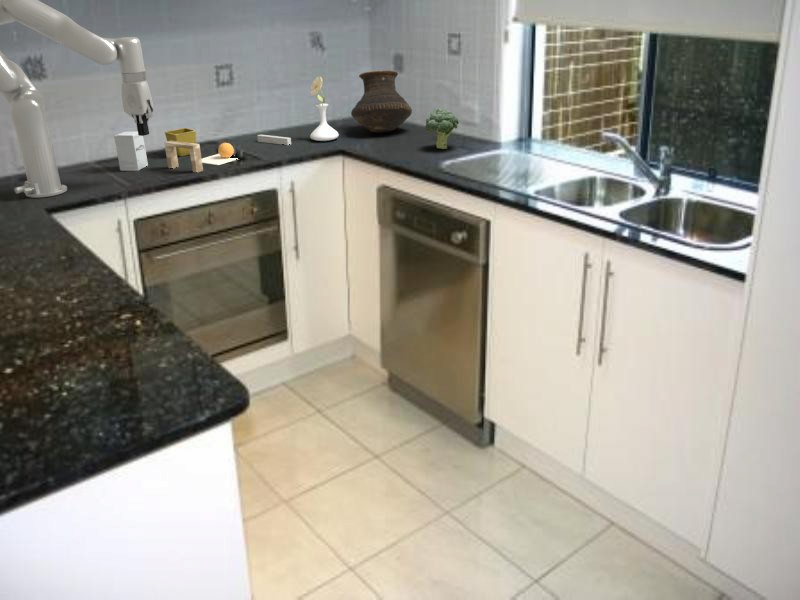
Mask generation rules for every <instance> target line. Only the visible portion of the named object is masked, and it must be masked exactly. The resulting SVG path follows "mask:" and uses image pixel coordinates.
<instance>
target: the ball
mask: <svg viewBox="0 0 800 600" xmlns="http://www.w3.org/2000/svg"><path fill="white" fill-rule="evenodd" d="M234 152H235V149H234V147H233V145H232V144H231V143H229V142H223V143H221V144H220V145H219V146H218V149H217V153H218V154H220V156H221V157H223V158H230V157H231V156H232V155H234Z"/></svg>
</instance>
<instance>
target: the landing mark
mask: <svg viewBox="0 0 800 600" xmlns="http://www.w3.org/2000/svg"><path fill="white" fill-rule="evenodd" d="M201 159H202V164H208V165H215V166H220V165H223V164H226V163H230V162H234V161H237V160H239V159H238V158H223V157H221V156H220V154H219V153H216V154H213V155H209V156H206V157H203V158H202V157H201ZM236 159H237V160H236Z"/></svg>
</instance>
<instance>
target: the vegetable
mask: <svg viewBox="0 0 800 600" xmlns="http://www.w3.org/2000/svg"><path fill="white" fill-rule="evenodd" d="M459 123H460V122H459V119H458V117H457V116H456V115H455V114H453V112H452V111H451V110H449V109H448V110H447V109H446V108H442V107H437V108H435V109H434V110H431V112H430V114H429V116H427V117H426V118H425V128H426V131H428V132H429V133H430V134H431V133H433V132H434V131H435V132H436V138H437V141H436V142H435V144H436V148H437V149H441V150H445V149H446V150H447V149H448V142H447V141H448V137H449V136H450V135H451V133H452V132H453V130H456V129H458V125H459Z"/></svg>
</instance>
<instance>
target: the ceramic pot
mask: <svg viewBox="0 0 800 600" xmlns="http://www.w3.org/2000/svg"><path fill="white" fill-rule="evenodd" d="M398 75H399V73H398V72H397V71H394V70H374V71H373V70H372V71H366V72H362V73H360V74H359V76H358V78H360V79H361V80H362V83H363V92H364V93H363V95H362V96H361V98H360V100H358V101H357V103H356V104H355V106H354V107H352V109H351V112H350V114H351V116H352V118H353V119H355V121H356V122H357V123H359V125H362V126H363V127H364V128H366V130H368V131H370V132H371V133H374V134H382V133H388V132H390V133H391V132H393V131H394V130H396V129H397V128H398V127H400V126H402V125H403V123H404V122H406V120H407V119H409V117H410V116H411V115H412V111H413V109H412V107H411V106H410V105H409V103H408V102H407V101H406V100H405V98H404V97H403V96H401V94H400V93H398V91H397V90H396V78H397V77H398Z"/></svg>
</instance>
